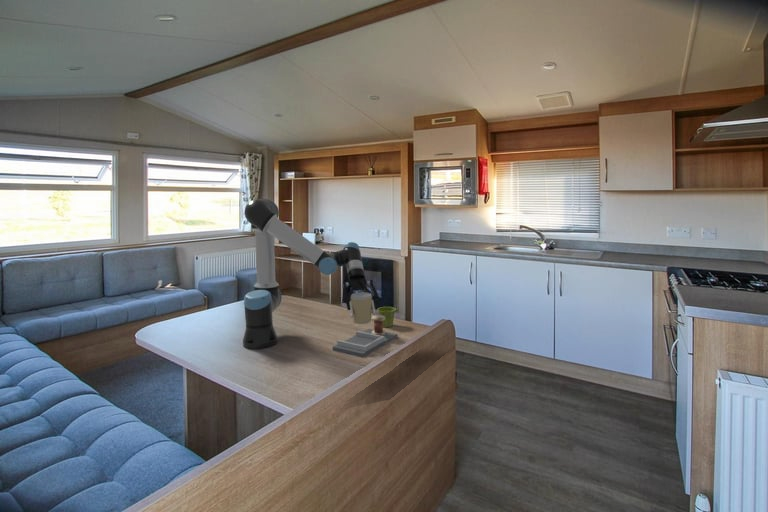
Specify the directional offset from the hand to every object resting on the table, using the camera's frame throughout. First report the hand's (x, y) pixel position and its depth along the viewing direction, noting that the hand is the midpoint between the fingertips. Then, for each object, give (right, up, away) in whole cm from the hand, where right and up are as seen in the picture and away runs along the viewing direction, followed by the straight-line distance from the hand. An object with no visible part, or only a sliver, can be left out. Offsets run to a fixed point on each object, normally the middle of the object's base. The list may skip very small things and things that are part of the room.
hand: (363, 315), depth 176 cm
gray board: (+1, -14, +9) cm, 16 cm away
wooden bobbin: (+6, -11, +17) cm, 21 cm away
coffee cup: (-1, -3, +4) cm, 5 cm away
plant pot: (+10, -10, +34) cm, 37 cm away
